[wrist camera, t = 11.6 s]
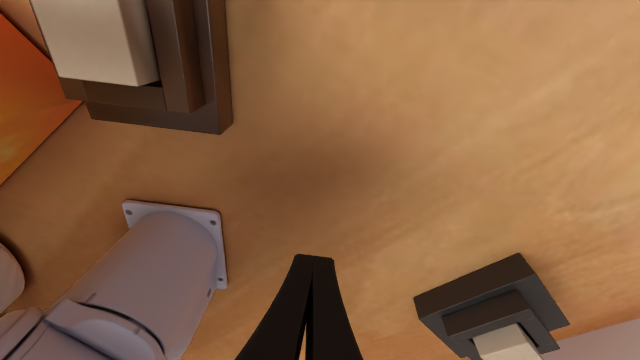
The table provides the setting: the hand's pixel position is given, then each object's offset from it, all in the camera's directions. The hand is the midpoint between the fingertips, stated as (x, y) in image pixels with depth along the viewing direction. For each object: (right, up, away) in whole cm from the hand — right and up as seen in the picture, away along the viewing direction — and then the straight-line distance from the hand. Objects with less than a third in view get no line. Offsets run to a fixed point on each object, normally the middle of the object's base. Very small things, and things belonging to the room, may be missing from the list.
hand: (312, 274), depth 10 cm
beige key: (-9, +10, +3) cm, 14 cm away
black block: (+16, -8, +15) cm, 23 cm away
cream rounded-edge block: (+15, -10, +12) cm, 22 cm away
